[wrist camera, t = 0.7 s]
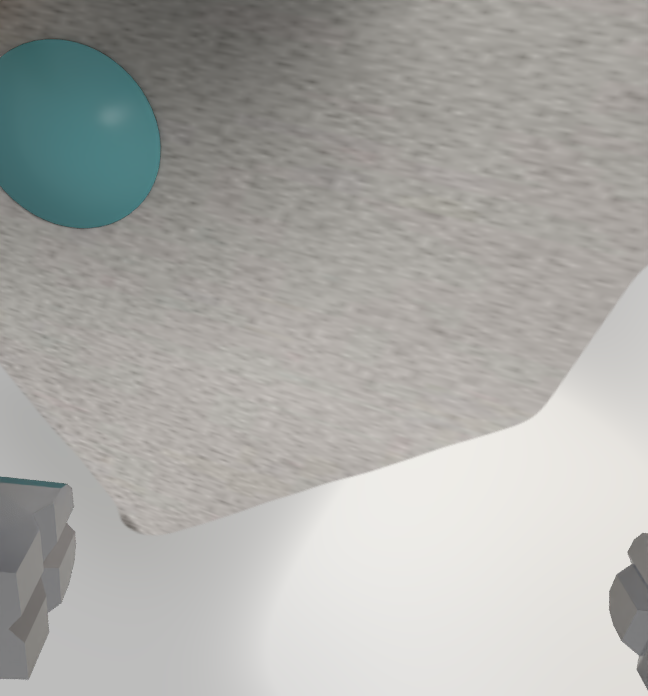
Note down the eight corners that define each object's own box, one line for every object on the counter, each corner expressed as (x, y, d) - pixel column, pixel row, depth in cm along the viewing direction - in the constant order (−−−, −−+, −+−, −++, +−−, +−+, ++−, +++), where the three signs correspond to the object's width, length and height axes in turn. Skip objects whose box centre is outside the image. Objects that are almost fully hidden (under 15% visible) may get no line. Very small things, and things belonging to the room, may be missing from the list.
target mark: (-64, 93, 46) (-66, 93, 46) (93, 2, 44) (92, 2, 44) (50, 254, 52) (49, 255, 52) (193, 182, 50) (193, 182, 49)
